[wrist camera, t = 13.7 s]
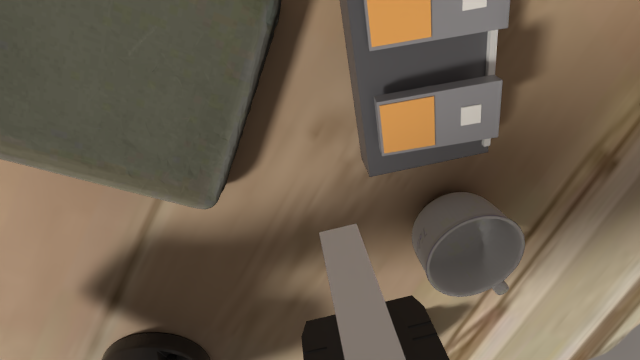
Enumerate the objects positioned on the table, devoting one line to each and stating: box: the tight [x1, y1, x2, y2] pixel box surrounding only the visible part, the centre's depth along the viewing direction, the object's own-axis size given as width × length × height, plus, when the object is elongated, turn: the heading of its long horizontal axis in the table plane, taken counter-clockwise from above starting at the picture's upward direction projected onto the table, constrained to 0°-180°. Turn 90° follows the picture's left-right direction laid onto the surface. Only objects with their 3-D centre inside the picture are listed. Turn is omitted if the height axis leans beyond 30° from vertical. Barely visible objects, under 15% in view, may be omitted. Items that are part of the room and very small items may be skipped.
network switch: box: [0, 0, 281, 209], centre depth 31 cm, size 23×24×5 cm
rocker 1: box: [364, 0, 510, 51], centre depth 26 cm, size 5×10×2 cm, turn 100°
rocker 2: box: [374, 75, 503, 156], centre depth 31 cm, size 5×10×2 cm, turn 100°
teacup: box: [412, 192, 525, 297], centre depth 42 cm, size 14×11×8 cm
